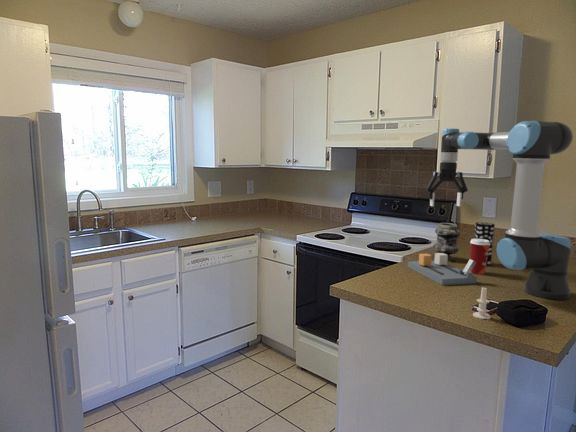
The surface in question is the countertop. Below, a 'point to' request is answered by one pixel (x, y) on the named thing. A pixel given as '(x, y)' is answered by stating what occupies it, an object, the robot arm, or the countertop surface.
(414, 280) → the countertop surface
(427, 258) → the orange fader
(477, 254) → the coffee cup
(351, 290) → the countertop surface
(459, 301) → the countertop surface
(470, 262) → the paddle lever
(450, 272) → the panel
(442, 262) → the block
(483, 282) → the countertop surface
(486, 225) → the white-spotted black cylinder
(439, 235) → the apothecary jar
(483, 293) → the candle
